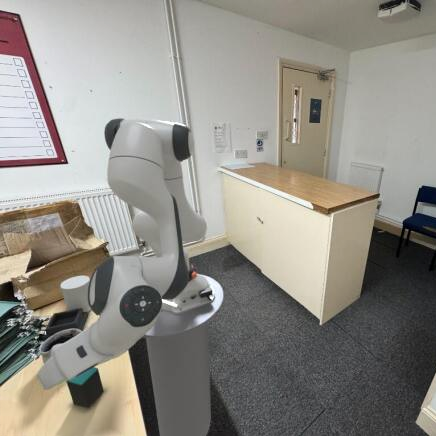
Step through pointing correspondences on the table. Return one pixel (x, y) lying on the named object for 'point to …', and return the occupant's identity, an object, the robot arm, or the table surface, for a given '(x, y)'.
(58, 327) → the black open tray
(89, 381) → the teal and black block
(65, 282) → the cup
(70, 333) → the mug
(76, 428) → the table surface
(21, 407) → the table surface
